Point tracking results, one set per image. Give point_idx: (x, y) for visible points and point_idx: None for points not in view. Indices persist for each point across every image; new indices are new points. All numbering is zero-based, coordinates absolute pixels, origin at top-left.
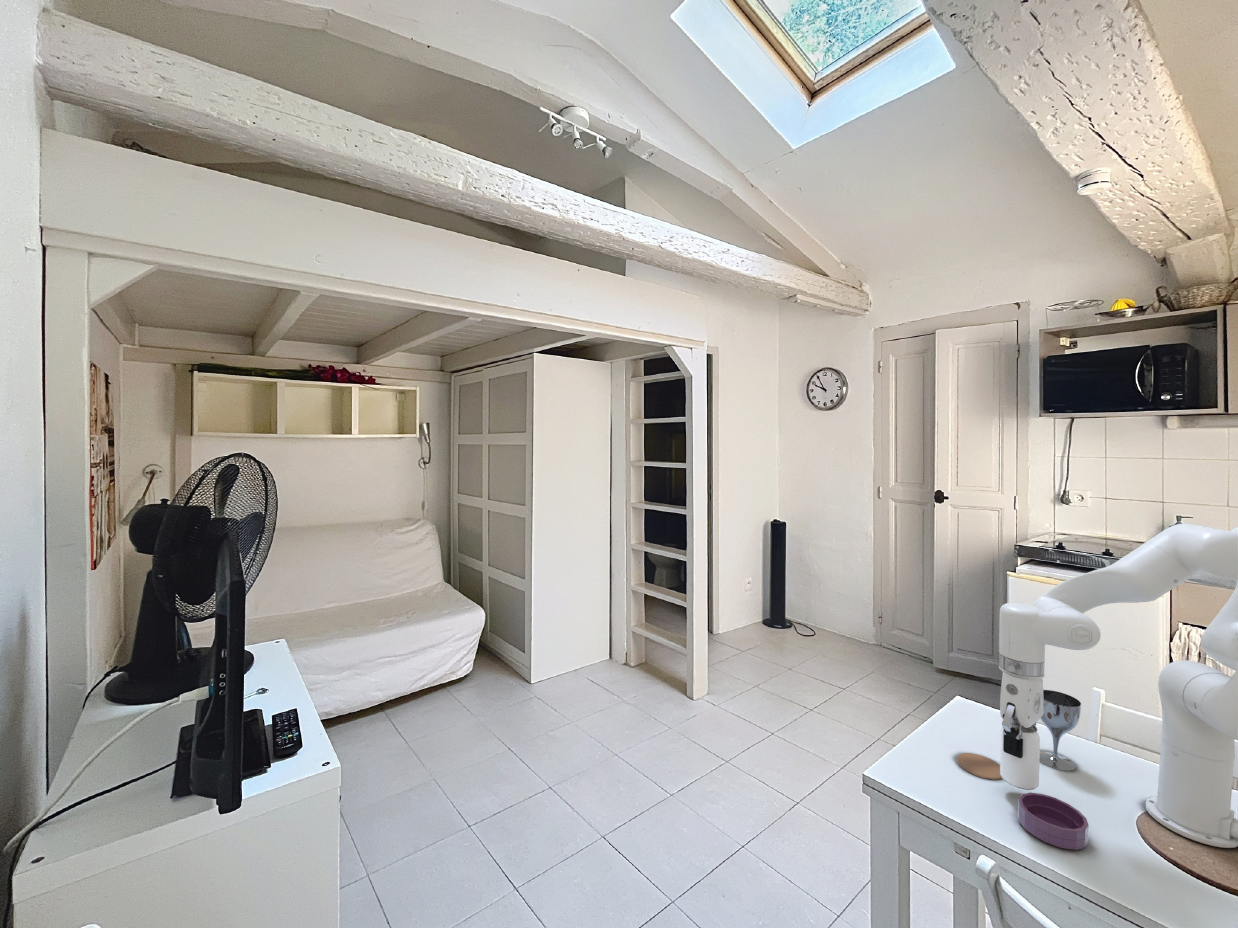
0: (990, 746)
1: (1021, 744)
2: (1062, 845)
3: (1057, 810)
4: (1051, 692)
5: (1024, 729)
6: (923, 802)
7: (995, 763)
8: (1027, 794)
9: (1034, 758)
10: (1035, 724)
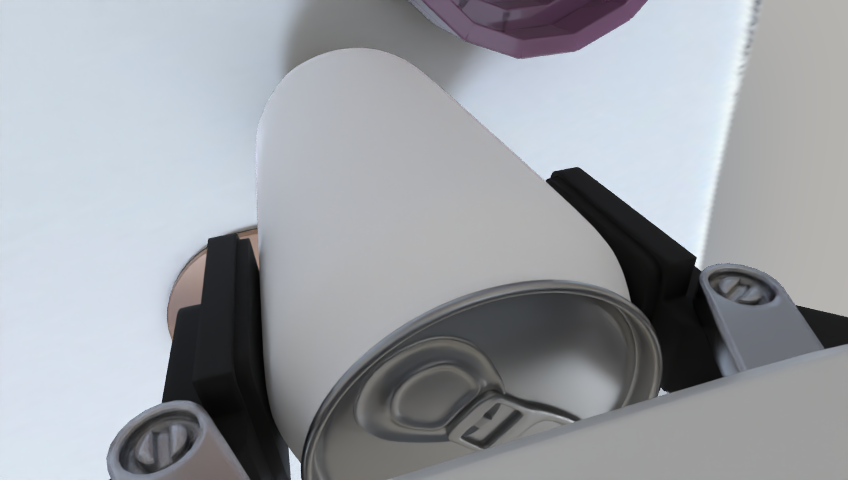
0: (30, 400)
1: (653, 230)
2: None
3: None
4: None
5: (521, 367)
6: (699, 245)
7: (182, 304)
8: (501, 39)
9: (461, 118)
10: (141, 420)
